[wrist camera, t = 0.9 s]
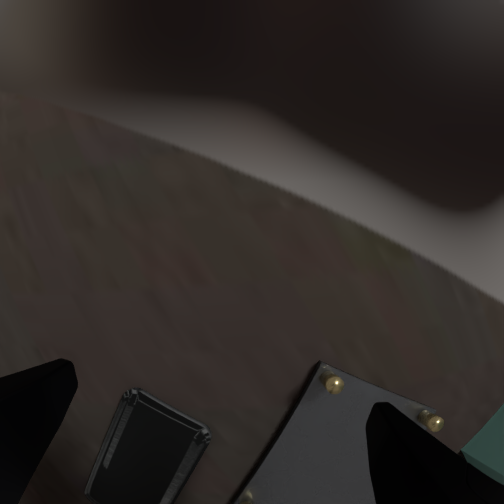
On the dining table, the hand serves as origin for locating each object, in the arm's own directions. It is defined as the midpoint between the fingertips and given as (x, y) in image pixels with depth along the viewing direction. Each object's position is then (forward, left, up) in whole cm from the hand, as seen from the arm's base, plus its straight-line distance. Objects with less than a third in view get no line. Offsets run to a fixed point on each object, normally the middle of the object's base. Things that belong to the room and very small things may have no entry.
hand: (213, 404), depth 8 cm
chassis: (-7, -11, -15) cm, 20 cm away
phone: (-14, +4, -16) cm, 22 cm away
